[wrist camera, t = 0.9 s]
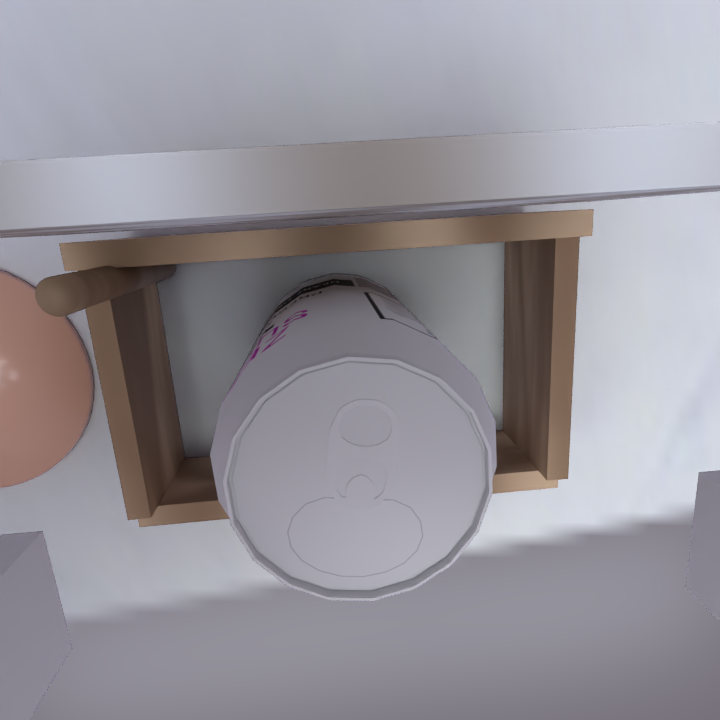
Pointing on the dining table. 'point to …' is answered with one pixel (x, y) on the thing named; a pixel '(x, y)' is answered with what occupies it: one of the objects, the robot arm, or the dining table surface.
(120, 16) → the dining table surface
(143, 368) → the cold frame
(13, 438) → the saucer
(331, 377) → the supplement can
